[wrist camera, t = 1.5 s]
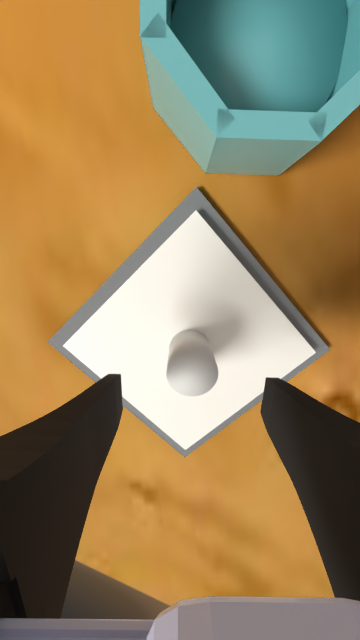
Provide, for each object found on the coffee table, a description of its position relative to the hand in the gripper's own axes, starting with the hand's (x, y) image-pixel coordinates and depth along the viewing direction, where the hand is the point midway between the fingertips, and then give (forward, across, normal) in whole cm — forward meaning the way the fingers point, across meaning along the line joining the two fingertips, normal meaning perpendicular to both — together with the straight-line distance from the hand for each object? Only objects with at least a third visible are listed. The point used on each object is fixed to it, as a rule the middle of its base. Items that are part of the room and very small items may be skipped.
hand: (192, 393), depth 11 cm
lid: (+6, 0, 0) cm, 6 cm away
